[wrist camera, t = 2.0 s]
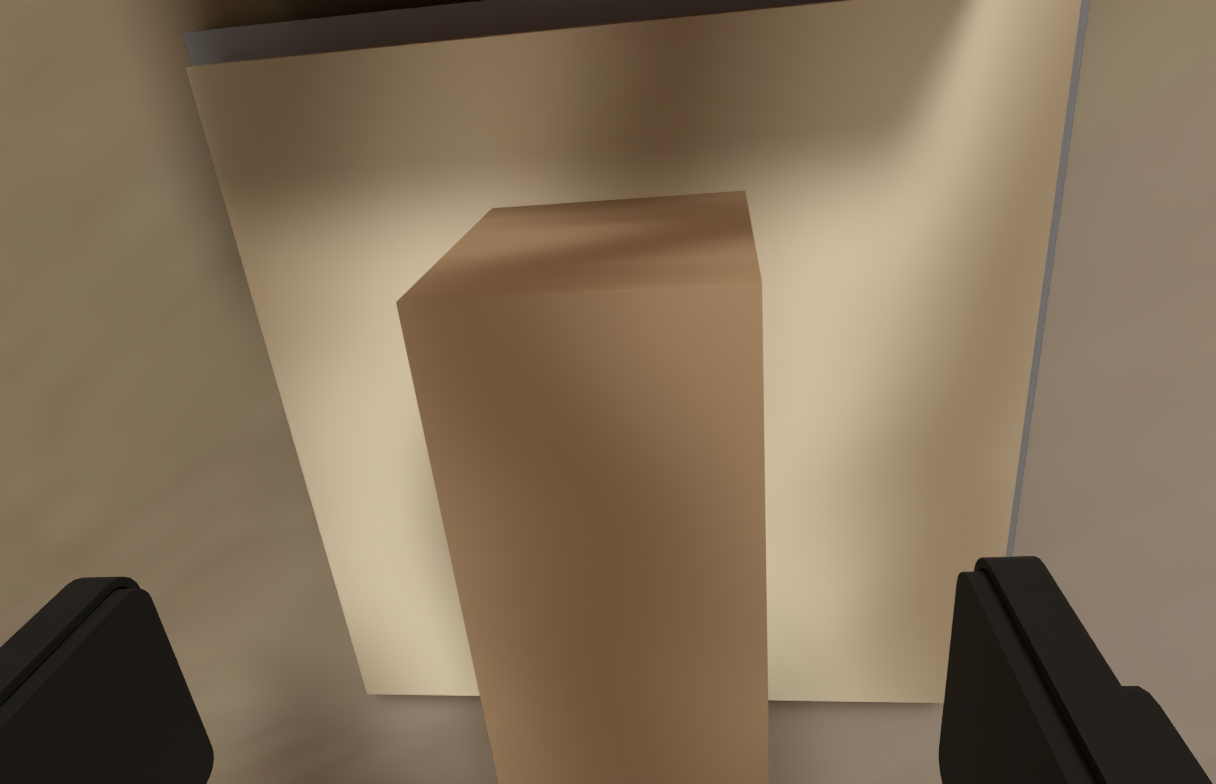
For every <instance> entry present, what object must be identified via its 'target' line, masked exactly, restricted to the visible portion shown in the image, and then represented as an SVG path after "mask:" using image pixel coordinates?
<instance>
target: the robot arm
mask: <svg viewBox="0 0 1216 784" xmlns="http://www.w3.org/2000/svg"><path fill="white" fill-rule="evenodd" d="M213 761H214V755H213V749H212V745H211V743H210V740H209V738H208V735H207V733H206V731H205V728H204V726H203V723H202V721H201V718H200V716H199V713H198V711H197V708H196V706H195V704H194V701H193V699H192V696H191V694H190V691H189V689H188V686H187V684H186V681H185V679H184V677H183V674H182V672H181V669H180V667H179V664H178V662H177V659H176V657H175V654H174V652H173V650H172V647H171V645H170V642H169V640H168V637H167V635H166V632H165V630H164V628H163V625H162V623H161V620H160V618H159V615H158V613H157V610H156V608H155V605H154V603H153V601H152V598H151V597H150V595H149V593H148V592H146V591H145V590H143V589H140V587H139V585H138V584H137V583H136V582H135V581H134V580H132V579H131V578H127V577H91V578H80V579H76V580H73V581H72V582H71V583H69V584H68V585H66V586H65V587H64V588H63V589H62V590H61V591H60V592H59V593H58V594H57V595H56V596H55V597H54V598H52V599H51V600H50V601H49V602H48V603H47V604H46V605H45V606H44V607H43V608H42V609H41V610H40V611H39V612H38V613H37V614H35V615H34V616H33V617H32V618H31V619H30V620H29V621H28V622H27V623H26V624H25V625H24V626H23V627H22V628H21V629H20V630H18V631H17V632H16V633H15V634H14V635H13V636H12V637H11V638H10V639H9V640H8V641H7V642H6V643H5V644H4V645H2V646H1V647H0V784H206V783H207V781H208V779H209V777H210V774H211V771H212V768H213ZM939 766H940V774H941V779H942V783H943V784H1212V782H1211V781H1210V779H1209V778H1208V776H1207V775H1206V773H1205V772H1204V770H1203V769H1202V767H1201V766H1200V764H1199V763H1198V761H1197V760H1196V758H1195V757H1194V755H1193V754H1192V752H1191V751H1190V749H1189V748H1188V747H1187V745H1186V744H1185V742H1184V741H1183V739H1182V738H1181V736H1180V735H1179V733H1178V732H1177V730H1176V729H1175V727H1174V726H1173V724H1172V723H1171V721H1170V720H1169V718H1168V717H1167V715H1166V714H1165V712H1164V711H1163V709H1162V708H1161V706H1160V705H1159V704H1158V703H1157V702H1156V700H1155V699H1154V698H1153V697H1152V696H1151V694H1150V693H1149V692H1147V691H1145V690H1144V689H1142V688H1141V687H1139V686H1121V684H1120V683H1119V681H1118V680H1117V678H1116V676H1115V675H1114V673H1113V672H1112V670H1111V669H1110V667H1109V665H1108V664H1107V662H1106V661H1105V659H1104V658H1103V656H1102V654H1101V653H1100V651H1099V650H1098V648H1097V647H1096V645H1095V643H1094V642H1093V640H1092V639H1091V637H1090V636H1089V634H1088V632H1087V631H1086V629H1085V628H1084V626H1083V625H1082V623H1081V621H1080V620H1079V618H1078V617H1077V615H1076V614H1075V612H1074V610H1073V609H1072V607H1071V606H1070V604H1069V602H1068V601H1067V599H1066V598H1065V596H1064V595H1063V593H1062V591H1061V590H1060V588H1059V587H1058V585H1057V584H1056V582H1055V580H1054V579H1053V577H1052V576H1051V574H1050V573H1049V571H1048V569H1047V568H1046V566H1045V565H1044V563H1043V562H1042V561H1041V560H1040V559H1039V558H1037V557H1035V556H1022V557H981V558H979V559H978V560H977V562H976V564H975V567H974V571H971V572H960V573H959V575H958V578H957V583H956V593H955V602H954V612H953V621H952V630H951V640H950V649H949V659H948V668H947V678H946V687H945V697H944V706H943V716H942V725H941V735H940V744H939Z"/></svg>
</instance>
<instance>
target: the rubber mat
mask: <svg viewBox="0 0 1216 784" xmlns="http://www.w3.org/2000/svg"><path fill="white" fill-rule="evenodd" d="M827 1H837V0H484V1H474V2H465V3H455V4H446V5H437V6H427V7H418V8H408V9H399V10H390V11H380V12H371V13H361V14H352V15H343V16H333V17H324V18H314V19H305V20H296V21H286V22H277V23H267V24H258V25H249V26H239V27H230V28H221V29H211V30H202V31H192V32H183V36H184V40H185V43H186V47H187V50H188V54H189V57H190V61H191V64H192V66H197V65H204V64H212V63H219V62H229V61H239V60H249V59H258V58H268V57H278V56H288V55H298V54H308V53H318V52H328V51H338V50H348V49H358V48H368V47H378V46H388V45H398V44H408V43H418V42H428V41H438V40H448V39H458V38H468V37H478V36H488V35H498V34H508V33H518V32H528V31H538V30H548V29H558V28H568V27H578V26H588V25H598V24H608V23H618V22H628V21H638V20H647V19H657V18H667V17H677V16H687V15H697V14H707V13H717V12H727V11H737V10H747V9H757V8H767V7H777V6H787V5H797V4H807V3H817V2H827ZM1089 3H1090V0H1081V7H1080V15H1079V22H1078V29H1077V37H1076V44H1075V51H1074V59H1073V66H1072V73H1071V81H1070V88H1069V95H1068V103H1067V110H1066V117H1065V125H1064V132H1063V139H1062V147H1061V154H1060V162H1059V169H1058V176H1057V184H1056V191H1055V198H1054V206H1053V213H1052V220H1051V228H1050V235H1049V242H1048V250H1047V257H1046V264H1045V272H1044V279H1043V286H1042V294H1041V301H1040V308H1039V316H1038V323H1037V330H1036V338H1035V345H1034V352H1033V360H1032V367H1031V374H1030V382H1029V389H1028V397H1027V404H1026V411H1025V419H1024V426H1023V433H1022V441H1021V448H1020V455H1019V463H1018V470H1017V477H1016V485H1015V492H1014V499H1013V507H1012V514H1011V521H1010V529H1009V536H1008V543H1007V551H1006V557H1012V553H1013V546H1014V539H1015V532H1016V524H1017V517H1018V510H1019V503H1020V496H1021V489H1022V482H1023V475H1024V467H1025V460H1026V453H1027V446H1028V439H1029V432H1030V425H1031V417H1032V410H1033V403H1034V396H1035V389H1036V382H1037V375H1038V367H1039V360H1040V353H1041V346H1042V339H1043V332H1044V325H1045V317H1046V310H1047V303H1048V296H1049V289H1050V282H1051V275H1052V268H1053V260H1054V253H1055V246H1056V239H1057V232H1058V225H1059V218H1060V210H1061V203H1062V196H1063V189H1064V182H1065V175H1066V168H1067V160H1068V153H1069V146H1070V139H1071V132H1072V125H1073V118H1074V111H1075V103H1076V96H1077V89H1078V82H1079V75H1080V68H1081V61H1082V53H1083V46H1084V39H1085V32H1086V25H1087V18H1088V11H1089Z"/></svg>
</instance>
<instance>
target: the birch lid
mask: <svg viewBox="0 0 1216 784" xmlns="http://www.w3.org/2000/svg"><path fill="white" fill-rule="evenodd" d="M1080 7H1081V0H837V1H827V2H817V3H807V4H797V5H787V6H777V7H767V8H757V9H747V10H737V11H727V12H717V13H707V14H697V15H687V16H677V17H667V18H657V19H647V20H638V21H628V22H618V23H608V24H598V25H588V26H578V27H568V28H558V29H548V30H538V31H528V32H518V33H508V34H498V35H488V36H478V37H468V38H458V39H448V40H438V41H428V42H418V43H408V44H398V45H388V46H378V47H368V48H358V49H348V50H338V51H328V52H318V53H308V54H298V55H288V56H278V57H268V58H258V59H249V60H239V61H229V62H219V63H212V64H204V65H197V66H190V67H185V68H186V72H187V75H188V79H189V82H190V86H191V89H192V92H193V96H194V99H195V103H196V106H197V110H198V113H199V117H200V120H201V123H202V127H203V130H204V134H205V137H206V141H207V144H208V148H209V151H210V154H211V158H212V161H213V165H214V168H215V172H216V175H217V179H218V182H219V185H220V189H221V192H222V196H223V199H224V203H225V206H226V210H227V213H228V216H229V220H230V223H231V227H232V230H233V234H234V237H235V241H236V244H237V247H238V251H239V254H240V258H241V261H242V265H243V268H244V271H245V275H246V278H247V282H248V285H249V289H250V292H251V296H252V299H253V302H254V306H255V309H256V313H257V316H258V320H259V323H260V327H261V330H262V333H263V337H264V340H265V344H266V347H267V351H268V354H269V358H270V361H271V364H272V368H273V371H274V375H275V378H276V382H277V385H278V389H279V392H280V395H281V399H282V402H283V406H284V409H285V413H286V416H287V420H288V423H289V426H290V430H291V433H292V437H293V440H294V444H295V447H296V451H297V454H298V457H299V461H300V464H301V468H302V471H303V475H304V478H305V482H306V485H307V488H308V492H309V495H310V499H311V502H312V506H313V509H314V512H315V516H316V519H317V523H318V526H319V530H320V533H321V537H322V540H323V543H324V547H325V550H326V554H327V557H328V561H329V564H330V568H331V571H332V574H333V578H334V581H335V585H336V588H337V592H338V595H339V599H340V602H341V605H342V609H343V612H344V616H345V619H346V623H347V626H348V630H349V633H350V636H351V640H352V643H353V647H354V650H355V654H356V657H357V661H358V664H359V667H360V671H361V674H362V678H363V681H364V685H365V688H366V692H367V694H390V695H455V696H480V699H481V704H482V708H483V713H484V718H485V722H486V727H487V732H488V736H489V741H490V746H491V751H492V755H493V760H494V765H495V769H496V774H497V779H498V783H499V784H769V725H768V700H779V701H844V702H909V703H944V697H945V687H946V678H947V668H948V659H949V649H950V640H951V630H952V621H953V612H954V602H955V593H956V583H957V578H958V575H959V573H960V572H971V571H974V567H975V564H976V562H977V560H978V559H979V558H981V557H1006V551H1007V543H1008V536H1009V529H1010V521H1011V514H1012V507H1013V499H1014V492H1015V485H1016V477H1017V470H1018V463H1019V455H1020V448H1021V441H1022V433H1023V426H1024V419H1025V411H1026V404H1027V397H1028V389H1029V382H1030V374H1031V367H1032V360H1033V352H1034V345H1035V338H1036V330H1037V323H1038V316H1039V308H1040V301H1041V294H1042V286H1043V279H1044V272H1045V264H1046V257H1047V250H1048V242H1049V235H1050V228H1051V220H1052V213H1053V206H1054V198H1055V191H1056V184H1057V176H1058V169H1059V162H1060V154H1061V147H1062V139H1063V132H1064V125H1065V117H1066V110H1067V103H1068V95H1069V88H1070V81H1071V73H1072V66H1073V59H1074V51H1075V44H1076V37H1077V29H1078V22H1079V15H1080Z"/></svg>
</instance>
